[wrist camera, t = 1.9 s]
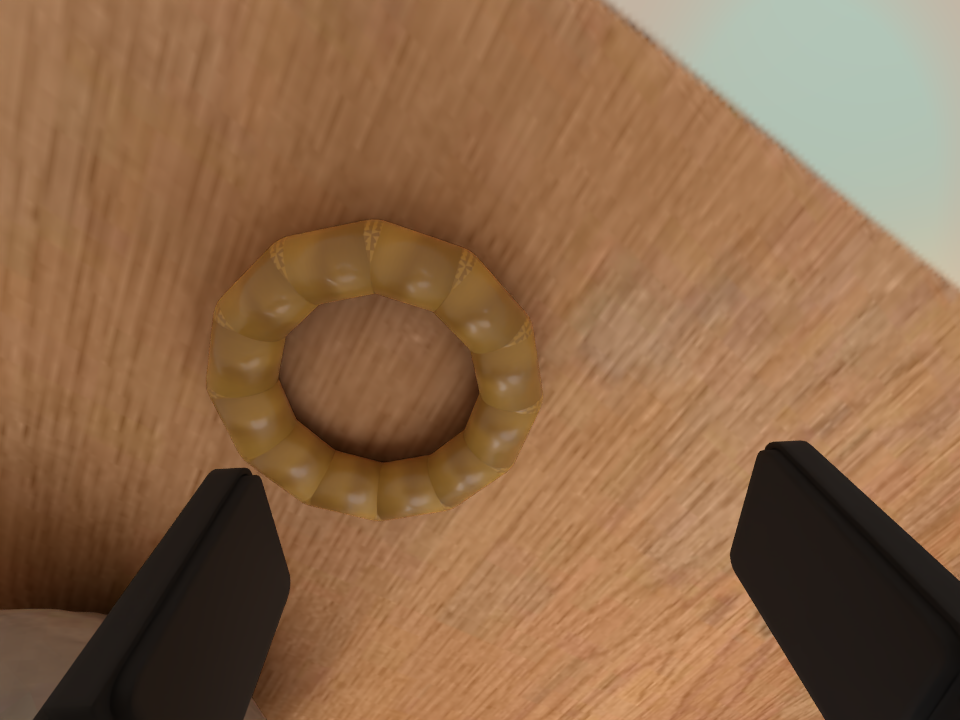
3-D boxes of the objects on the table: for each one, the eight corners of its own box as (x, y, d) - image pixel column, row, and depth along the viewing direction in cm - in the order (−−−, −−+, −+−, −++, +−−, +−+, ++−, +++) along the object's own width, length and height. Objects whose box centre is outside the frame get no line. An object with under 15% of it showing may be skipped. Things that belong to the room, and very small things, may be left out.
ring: (508, 186, 12) (515, 196, 11) (552, 467, 16) (561, 504, 15) (170, 255, 13) (127, 274, 11) (293, 510, 17) (274, 551, 15)
